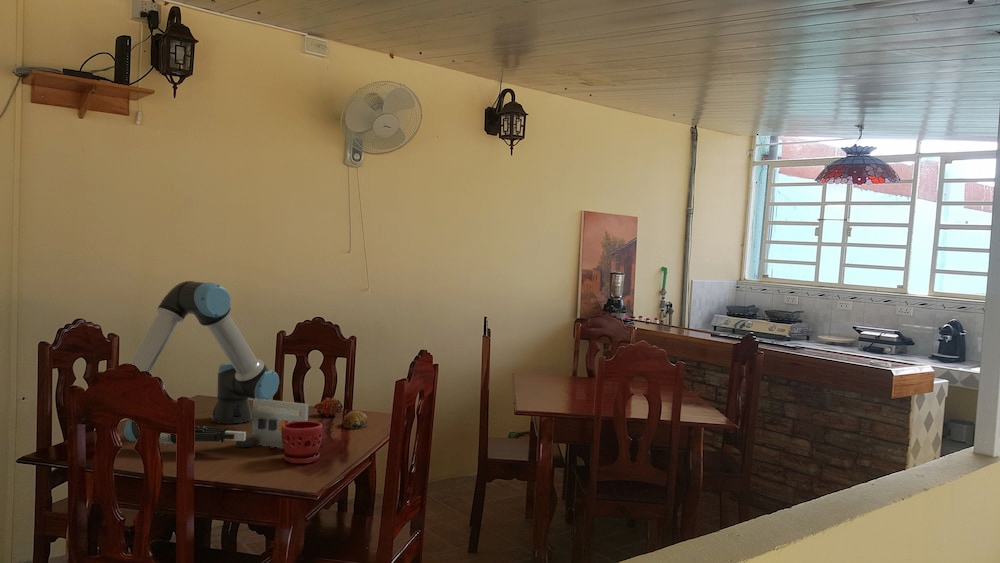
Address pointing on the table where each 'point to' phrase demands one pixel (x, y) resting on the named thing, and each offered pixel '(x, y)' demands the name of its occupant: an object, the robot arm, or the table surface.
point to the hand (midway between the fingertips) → (244, 436)
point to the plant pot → (301, 441)
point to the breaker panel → (274, 420)
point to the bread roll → (355, 420)
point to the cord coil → (246, 442)
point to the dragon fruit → (329, 407)
